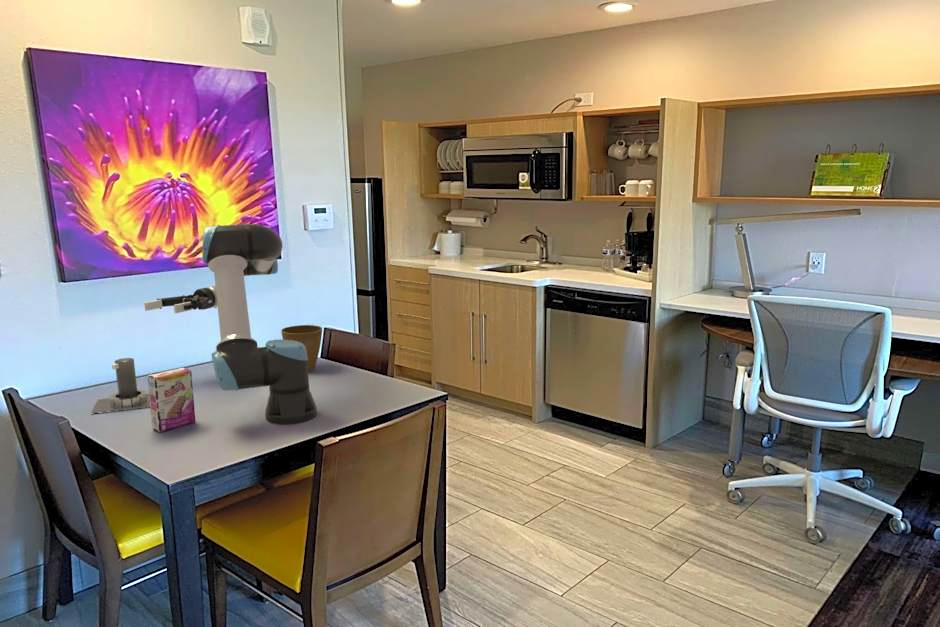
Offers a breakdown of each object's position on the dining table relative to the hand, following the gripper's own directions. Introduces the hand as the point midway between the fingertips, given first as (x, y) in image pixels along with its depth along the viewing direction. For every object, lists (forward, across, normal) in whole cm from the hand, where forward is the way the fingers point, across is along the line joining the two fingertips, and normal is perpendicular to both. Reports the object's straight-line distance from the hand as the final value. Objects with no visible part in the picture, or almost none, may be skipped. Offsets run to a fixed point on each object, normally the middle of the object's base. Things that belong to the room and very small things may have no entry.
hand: (159, 308), depth 225 cm
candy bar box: (+22, -27, -30) cm, 46 cm away
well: (+13, +4, -30) cm, 32 cm away
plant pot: (-40, -26, -30) cm, 56 cm away
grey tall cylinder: (+13, +4, -29) cm, 32 cm away
